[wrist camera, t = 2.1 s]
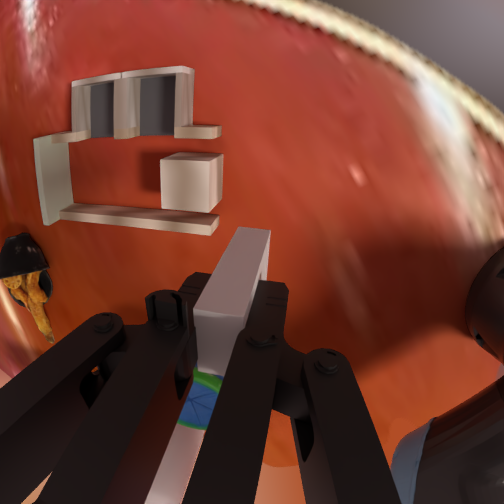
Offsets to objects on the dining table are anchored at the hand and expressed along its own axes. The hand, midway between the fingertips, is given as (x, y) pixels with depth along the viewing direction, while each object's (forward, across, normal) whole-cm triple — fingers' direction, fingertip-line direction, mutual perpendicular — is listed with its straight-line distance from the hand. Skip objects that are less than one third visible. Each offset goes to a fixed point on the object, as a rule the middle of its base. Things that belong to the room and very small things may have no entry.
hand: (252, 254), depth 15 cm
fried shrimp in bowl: (+16, +35, +17) cm, 42 cm away
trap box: (+16, +16, -3) cm, 23 cm away
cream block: (+16, +8, 0) cm, 18 cm away
